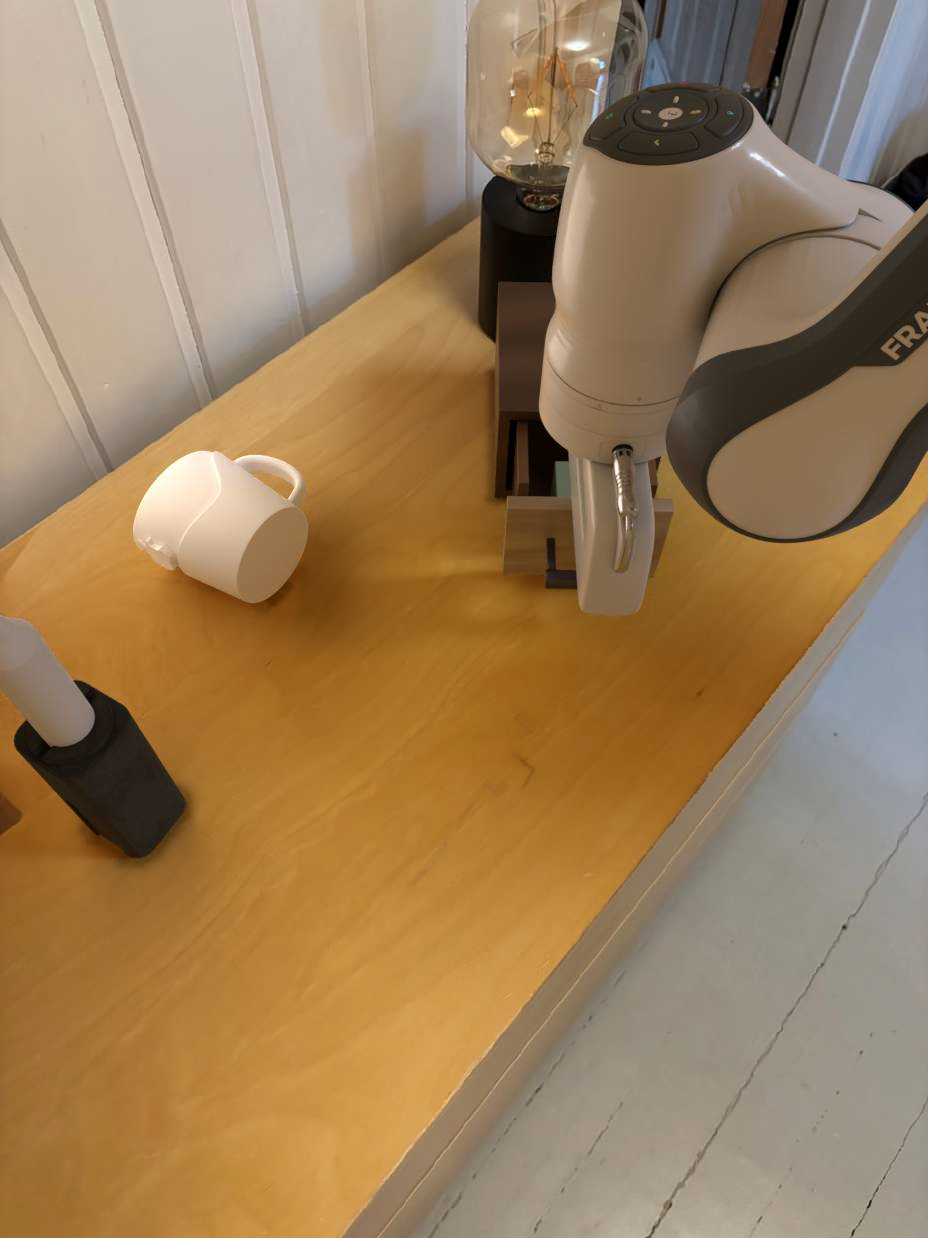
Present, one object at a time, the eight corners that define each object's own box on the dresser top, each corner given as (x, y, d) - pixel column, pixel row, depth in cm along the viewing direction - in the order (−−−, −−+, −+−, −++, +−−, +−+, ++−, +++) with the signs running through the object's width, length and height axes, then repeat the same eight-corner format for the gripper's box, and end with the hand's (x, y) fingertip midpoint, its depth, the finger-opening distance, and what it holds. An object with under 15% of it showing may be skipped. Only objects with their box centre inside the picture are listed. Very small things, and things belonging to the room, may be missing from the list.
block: (600, 496, 74) (607, 461, 71) (603, 535, 72) (610, 502, 69) (550, 495, 74) (554, 460, 71) (551, 534, 72) (556, 501, 69)
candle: (193, 800, 63) (59, 586, 42) (141, 865, 60) (-28, 672, 39) (134, 764, 64) (-24, 539, 43) (82, 826, 62) (-112, 619, 41)
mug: (241, 630, 70) (219, 567, 63) (149, 574, 73) (118, 508, 66) (339, 525, 75) (328, 457, 69) (250, 476, 78) (231, 406, 71)
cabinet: (649, 500, 77) (672, 413, 69) (494, 497, 77) (498, 410, 69) (635, 374, 85) (654, 283, 77) (494, 372, 85) (498, 281, 77)
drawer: (659, 624, 69) (680, 560, 63) (502, 621, 69) (507, 557, 63) (639, 446, 79) (656, 375, 72) (501, 444, 79) (506, 372, 72)
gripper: (695, 532, 48) (648, 667, 60) (655, 276, 59) (622, 432, 71) (571, 531, 48) (549, 666, 60) (555, 275, 59) (538, 431, 71)
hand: (588, 537), depth 65 cm, fingers closed
